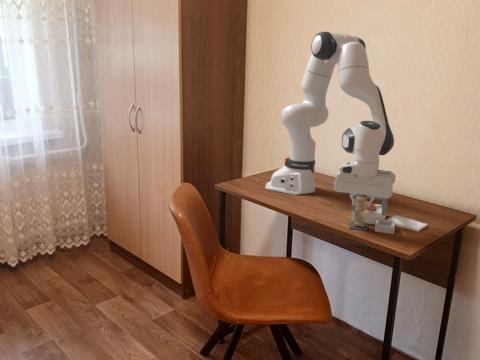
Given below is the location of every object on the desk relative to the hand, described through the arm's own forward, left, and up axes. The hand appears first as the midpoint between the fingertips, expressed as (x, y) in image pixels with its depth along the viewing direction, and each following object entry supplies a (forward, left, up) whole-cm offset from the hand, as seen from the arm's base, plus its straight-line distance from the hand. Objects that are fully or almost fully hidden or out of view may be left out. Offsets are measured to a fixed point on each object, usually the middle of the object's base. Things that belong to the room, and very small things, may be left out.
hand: (360, 205), depth 166 cm
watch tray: (-4, +47, -8) cm, 48 cm away
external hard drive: (+17, +10, -9) cm, 22 cm away
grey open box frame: (+3, +11, -8) cm, 14 cm away
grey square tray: (+9, +1, -8) cm, 12 cm away
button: (+3, +11, -6) cm, 13 cm away
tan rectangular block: (0, 0, -7) cm, 7 cm away
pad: (0, 0, -8) cm, 8 cm away
